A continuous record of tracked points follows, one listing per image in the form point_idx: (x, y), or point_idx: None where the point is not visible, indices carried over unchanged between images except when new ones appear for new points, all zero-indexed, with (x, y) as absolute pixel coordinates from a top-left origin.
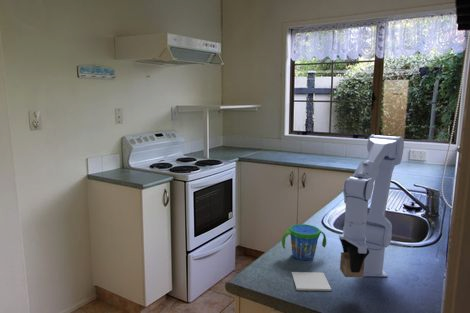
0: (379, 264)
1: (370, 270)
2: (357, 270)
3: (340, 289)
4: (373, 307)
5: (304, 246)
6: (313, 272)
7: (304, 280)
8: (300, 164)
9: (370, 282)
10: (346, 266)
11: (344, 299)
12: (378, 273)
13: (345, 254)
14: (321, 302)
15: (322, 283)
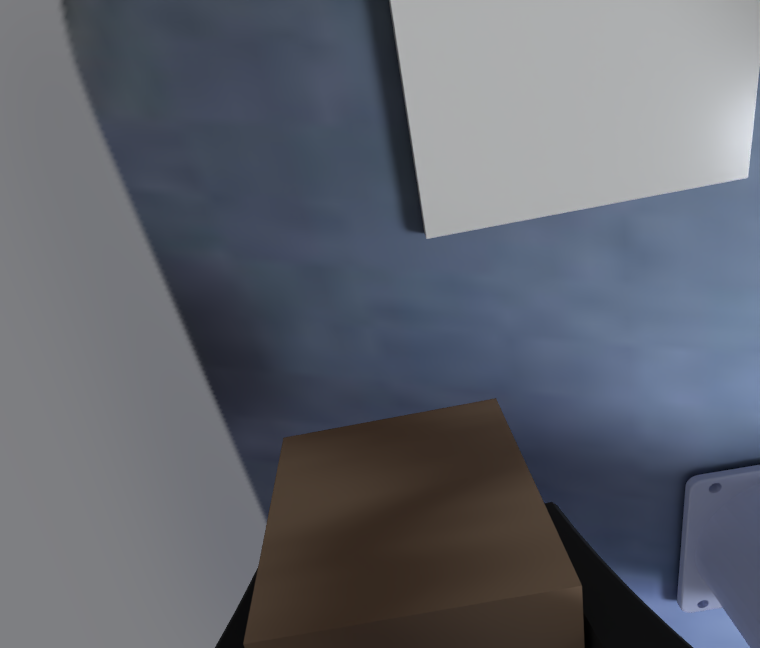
0: (748, 644)
1: (721, 551)
2: None
3: (466, 309)
4: (265, 490)
5: None
6: (757, 66)
7: None
8: None
9: (599, 509)
10: (267, 549)
11: (314, 327)
12: (702, 576)
13: (487, 641)
14: (203, 137)
15: (521, 159)
